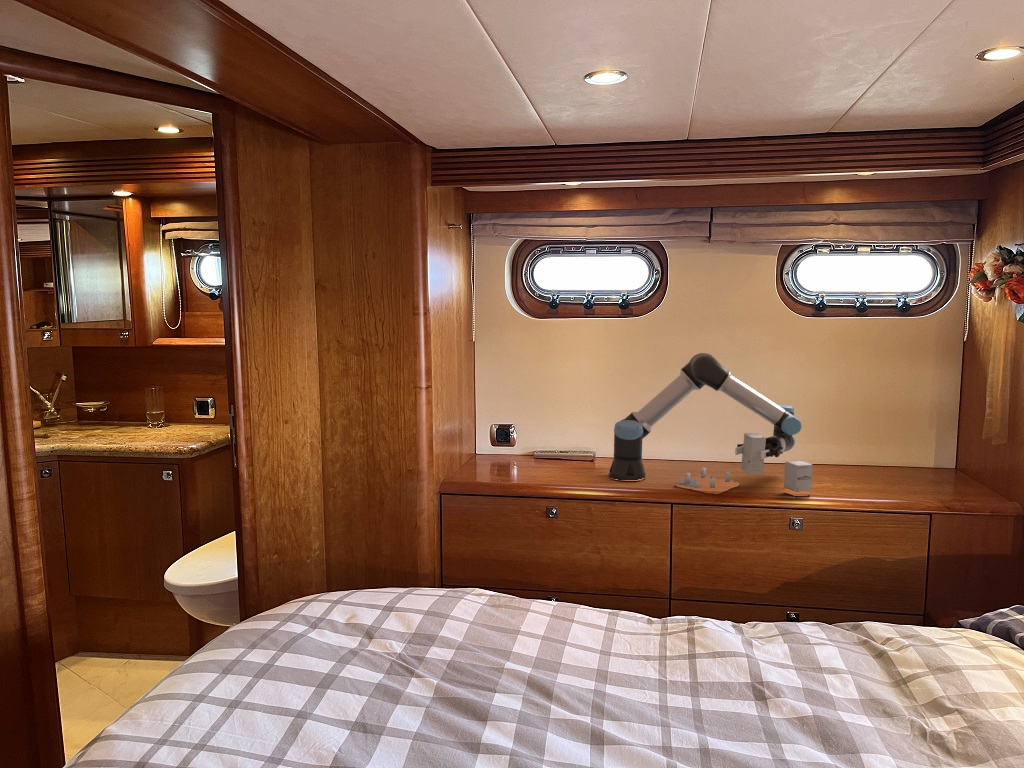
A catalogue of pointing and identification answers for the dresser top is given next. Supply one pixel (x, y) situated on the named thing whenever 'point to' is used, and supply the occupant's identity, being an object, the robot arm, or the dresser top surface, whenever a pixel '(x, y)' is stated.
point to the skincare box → (753, 453)
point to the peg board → (691, 483)
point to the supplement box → (798, 476)
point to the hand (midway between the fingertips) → (748, 453)
